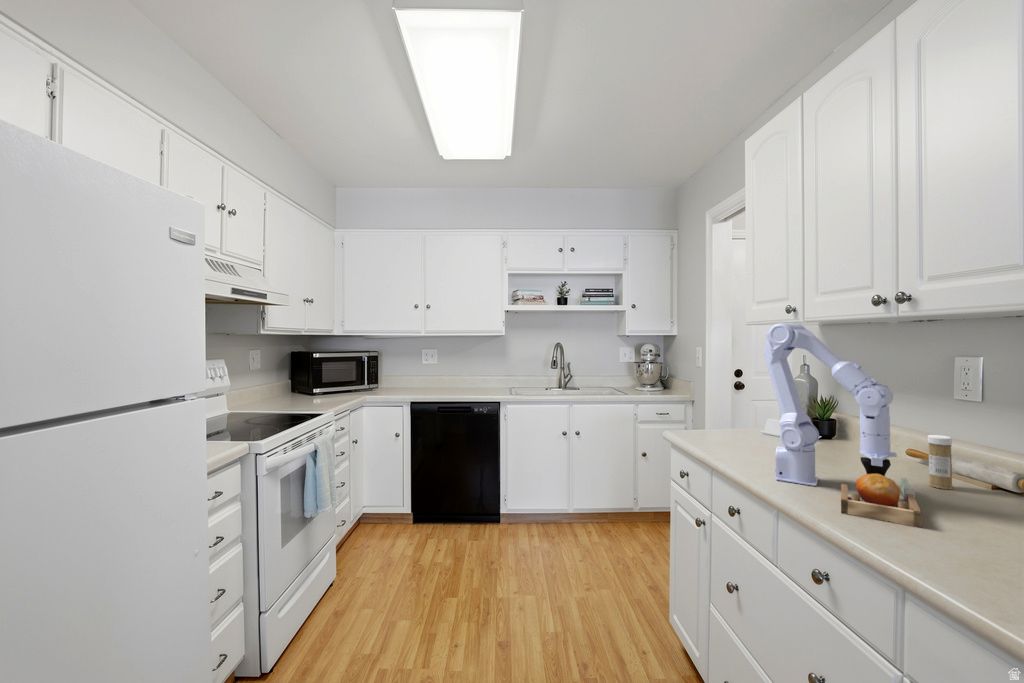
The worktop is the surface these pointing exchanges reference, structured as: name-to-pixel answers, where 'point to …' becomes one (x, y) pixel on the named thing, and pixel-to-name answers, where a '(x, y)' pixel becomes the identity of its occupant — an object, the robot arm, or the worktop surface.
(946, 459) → the sprinkles bottle
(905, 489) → the gate
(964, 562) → the worktop surface
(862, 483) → the fruit
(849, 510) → the cradle
